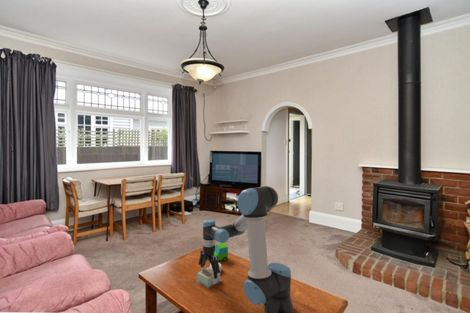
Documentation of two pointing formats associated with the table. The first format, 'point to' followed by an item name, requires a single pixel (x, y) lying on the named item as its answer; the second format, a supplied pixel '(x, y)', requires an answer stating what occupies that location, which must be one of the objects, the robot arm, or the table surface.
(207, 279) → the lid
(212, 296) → the table surface
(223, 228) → the robot arm
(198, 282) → the mat
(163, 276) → the table surface
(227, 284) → the table surface
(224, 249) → the toy car
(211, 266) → the bowl
